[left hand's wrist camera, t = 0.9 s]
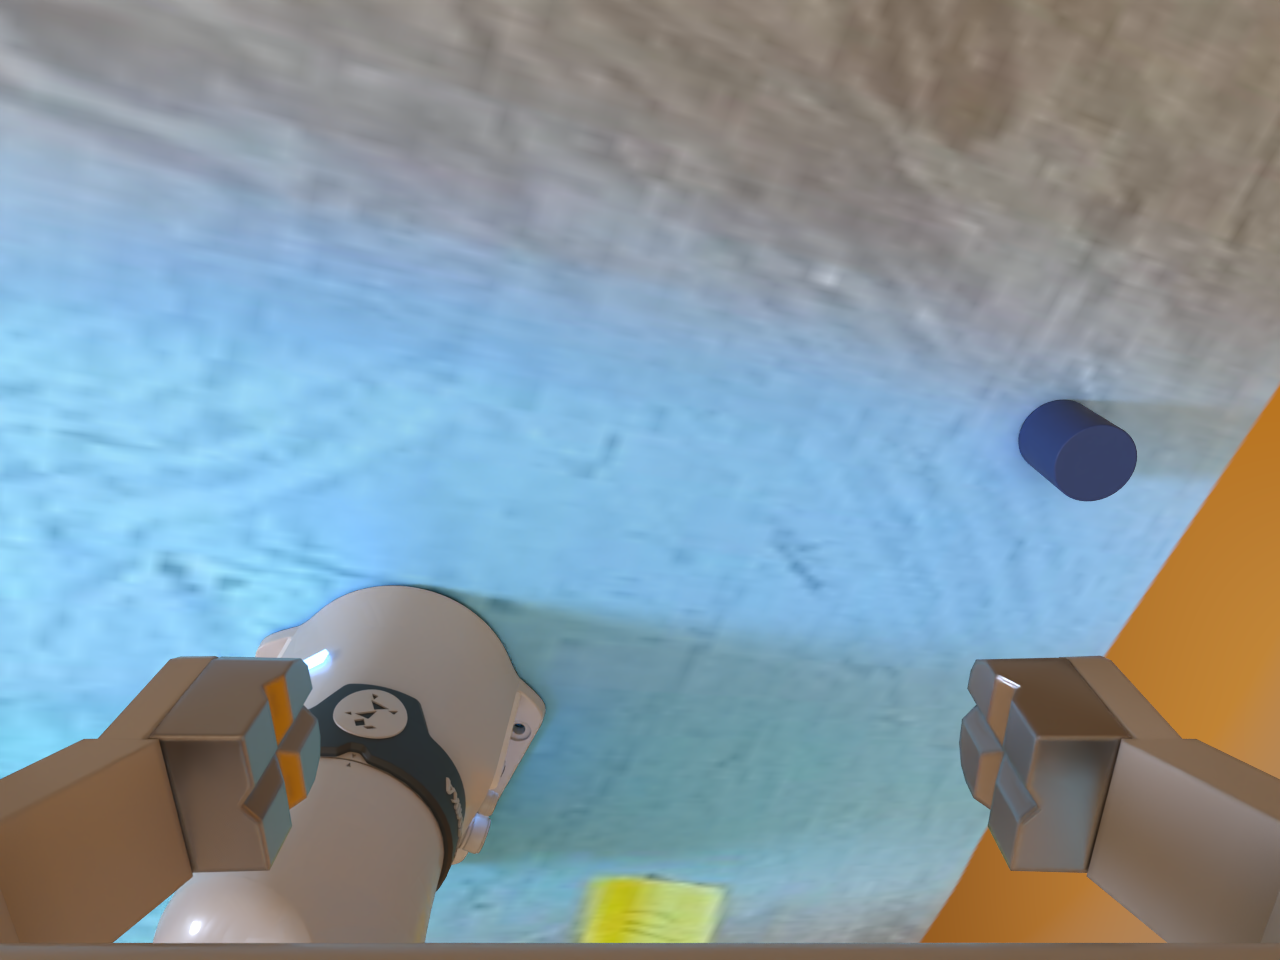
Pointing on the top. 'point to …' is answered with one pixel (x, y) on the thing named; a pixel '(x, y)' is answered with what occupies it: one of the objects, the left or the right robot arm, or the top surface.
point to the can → (1077, 450)
